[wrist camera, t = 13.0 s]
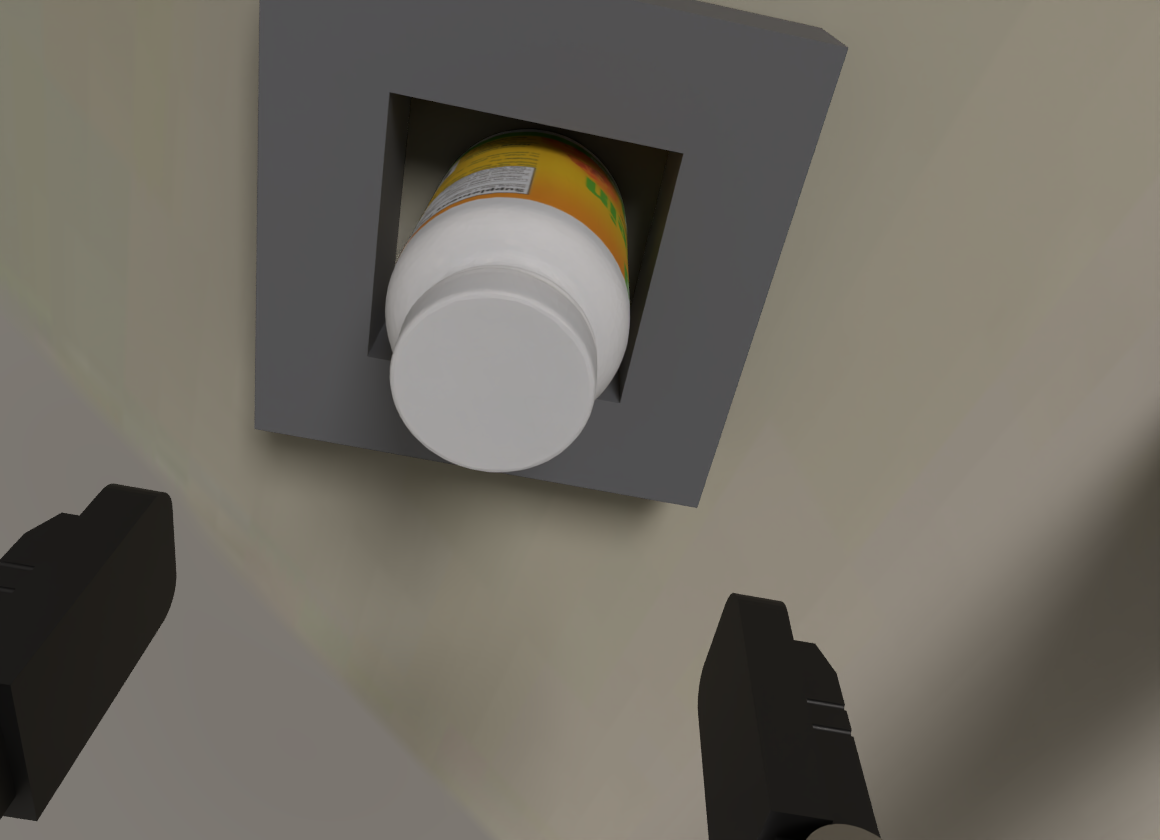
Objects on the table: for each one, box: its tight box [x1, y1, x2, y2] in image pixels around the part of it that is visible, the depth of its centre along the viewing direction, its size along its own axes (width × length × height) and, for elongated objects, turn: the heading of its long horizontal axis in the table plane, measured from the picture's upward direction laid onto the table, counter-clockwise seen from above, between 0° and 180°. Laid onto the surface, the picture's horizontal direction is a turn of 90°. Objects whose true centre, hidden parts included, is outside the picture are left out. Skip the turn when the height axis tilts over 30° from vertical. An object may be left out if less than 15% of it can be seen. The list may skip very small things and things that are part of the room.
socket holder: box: [255, 0, 848, 508], centre depth 24 cm, size 13×13×3 cm
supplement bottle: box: [385, 129, 630, 472], centre depth 21 cm, size 5×5×10 cm
